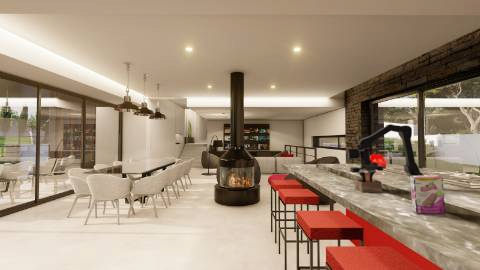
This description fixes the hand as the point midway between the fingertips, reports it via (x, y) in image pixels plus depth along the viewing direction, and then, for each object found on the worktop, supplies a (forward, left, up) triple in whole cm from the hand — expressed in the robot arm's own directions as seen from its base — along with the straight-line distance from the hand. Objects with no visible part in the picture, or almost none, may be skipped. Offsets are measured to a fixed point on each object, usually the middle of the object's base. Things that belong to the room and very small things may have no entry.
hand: (367, 182), depth 165 cm
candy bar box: (+38, +35, -5) cm, 52 cm away
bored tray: (0, 0, -5) cm, 5 cm away
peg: (0, 0, -2) cm, 2 cm away
